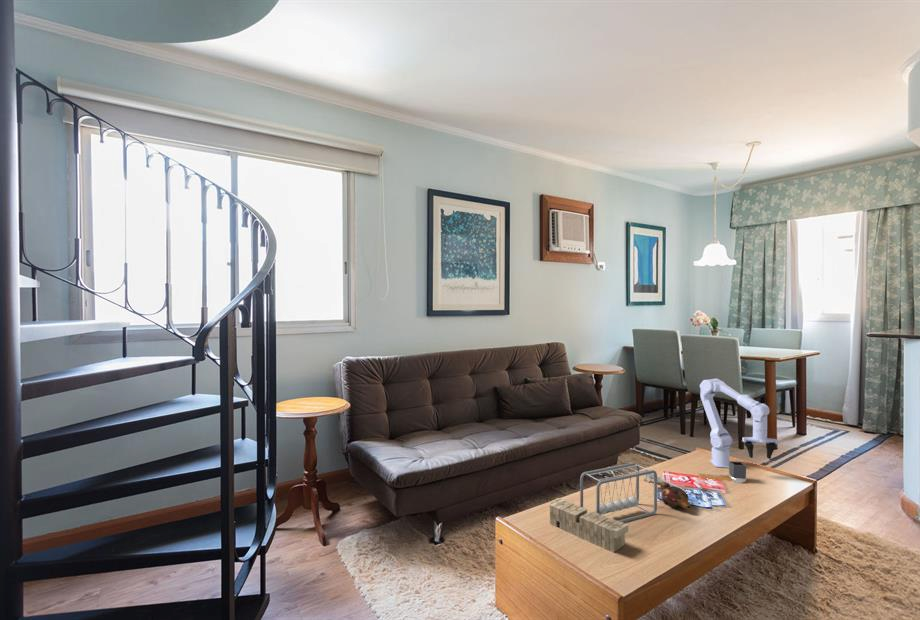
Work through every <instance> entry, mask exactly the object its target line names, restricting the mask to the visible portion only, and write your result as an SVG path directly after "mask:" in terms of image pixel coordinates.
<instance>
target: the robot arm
mask: <svg viewBox="0 0 920 620" xmlns="http://www.w3.org/2000/svg"><path fill="white" fill-rule="evenodd" d="M699 388H700V389H699V390H700V400H701V402H702V405H703V409H704V411H705V415H706V417H707V420H708V423H709V426H710V428H711V430H710V434H709V435H710V444H711V446H712V447H711V459H709V462H710V463H711V464H712V465H713V466H714V467H715V468H727V469H728V468H729V461H731V460H730V457H731V455H730V453H731V452H730V449H731V445H732V444H733V443H734V440H733V438H732V436H731V435H730V433H729V432H728V430H727V429H726V428H724V426H723V423H722V421H721V420H722V419H721V417H720V415H719V414H720V413H719V412H718V409H717V407H716V406H717V405H716V403H715V401H714V397H715V395H716V394H717V393H718V392H719V393H720V392H721V393H723V394H725V395H727V396H729V397H730V398H732V399H734V400H735V401H736V402H737V404H738V405H739V406H740V407H743V408H744V409H746V410H747V411H748V412H750V414H751V416H752V436H746V437H744V436H743V437H742V440H741V442H743V443H744V445H745V446H746V449H747V452H748V456H749V458H750V459H753V457H754V452H753V451H754V447H755V446H754V444H753V443H758V444H759V443H760V444H765V445H766V446H765V447H766V459H769V460H771V459H772V455H773V453H774V450H775V449H777V445H778V444H779V440H778V439H776V438H769V437H768V415H769V414H770V411H771V410H770V407H769V406H768V405H767V404H766V403H761V402H759V401H757V400H755V399H754V398H752V397H751V396H750V395H749V394H741V393H739V392H738V391H736V390H735V389H733V388H732V387H730V386H729V385H728V384H726V382H724V381H723V380H720V378H716V377H715V378H712V379H703V380H702V381H701V382H700V384H699Z"/></svg>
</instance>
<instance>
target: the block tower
mask: <svg viewBox="0 0 920 620" xmlns="http://www.w3.org/2000/svg"><path fill="white" fill-rule="evenodd" d="M593 512H594V513H593V514H589V513H590V512H588V509H587V508H585V507H584V506H583V507H580V505H577V504H574V503H572V502H570V501H568V500H565V499H562V498H559V497H557V498H555V499H553V500H552V501H550V504H549V524H550V525H551V526H554V527H555V528H556V527H559V529H561V530H563V531H564V532H566V533H569V534H571V535H573V536H575V537H577V538H580V539H581V540H584V541H586V542H588V543H591V544H593V545H595V546H598V547H600V548H601V549H604V550H607V551H610V552H611V553H615V552H616V551H618V550H620V549H621V548H622V547H623V546H625V545H626V544H625V543H626V542H625V541H626V539H625V534H627V533H628V532H629V524H628V523H626V522H624V523H623V522H620V521H618V520H616V519H613V518H611V517H608V516H606V515H605V514H601V513H600V514H598V513H596V512H595V511H593Z"/></svg>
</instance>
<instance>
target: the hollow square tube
mask: <svg viewBox="0 0 920 620" xmlns="http://www.w3.org/2000/svg"><path fill="white" fill-rule="evenodd" d="M728 471H729V472H728V475H729V474H730V475H731V476H732V477H733V478H742V479H746V480H747V465H746V464H744V463H743V462H742V461H731V460H730V461H729V469H728Z"/></svg>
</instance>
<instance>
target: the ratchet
mask: <svg viewBox="0 0 920 620" xmlns="http://www.w3.org/2000/svg"><path fill="white" fill-rule="evenodd" d="M697 475H698V476H699V477H700V478H708V479H707V480H709V479H719V480H718V481H723V480H725V481H724V482H726V480H727V482H733V481H734V482H733V483H736V482H737V484H746V483H747V478H746V479H742V478H733V477H732V476H731V475H730V474H729V473H728V475H727V474H725V475H724V474H711V473H710V474H709V473H698V474H697ZM699 477H698V478H699ZM700 478H699V479H700ZM745 482H746V483H745Z"/></svg>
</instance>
